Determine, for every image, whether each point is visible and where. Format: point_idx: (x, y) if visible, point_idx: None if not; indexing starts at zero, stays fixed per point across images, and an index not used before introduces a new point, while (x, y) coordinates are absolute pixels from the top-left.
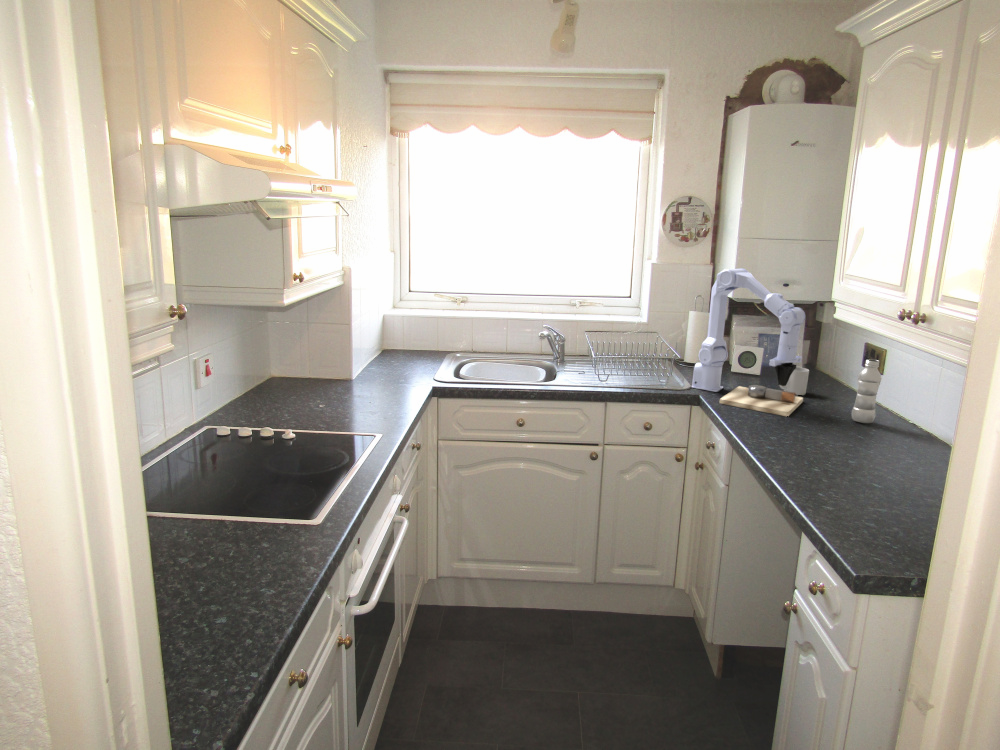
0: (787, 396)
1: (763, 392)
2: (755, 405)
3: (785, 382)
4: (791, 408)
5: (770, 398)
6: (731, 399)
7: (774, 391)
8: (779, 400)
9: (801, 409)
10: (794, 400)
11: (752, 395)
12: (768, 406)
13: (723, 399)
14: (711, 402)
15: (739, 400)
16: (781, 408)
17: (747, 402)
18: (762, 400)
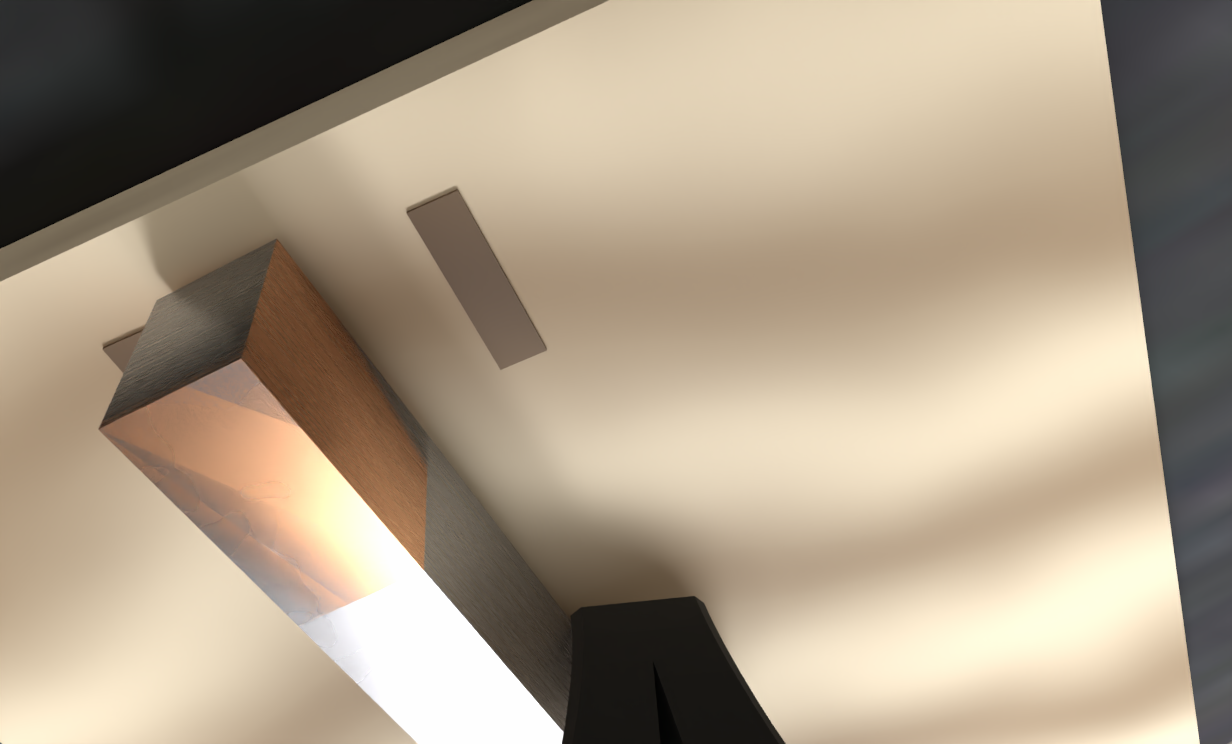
0: (358, 424)
1: None
2: (1132, 408)
3: (708, 673)
4: None
5: (528, 571)
6: (1092, 705)
7: (512, 657)
8: None
9: (166, 33)
10: (200, 294)
11: None
12: (994, 288)
13: (1185, 728)
14: (1200, 740)
15: (1051, 650)
16: (905, 84)
17: (1059, 555)
18: (715, 560)
